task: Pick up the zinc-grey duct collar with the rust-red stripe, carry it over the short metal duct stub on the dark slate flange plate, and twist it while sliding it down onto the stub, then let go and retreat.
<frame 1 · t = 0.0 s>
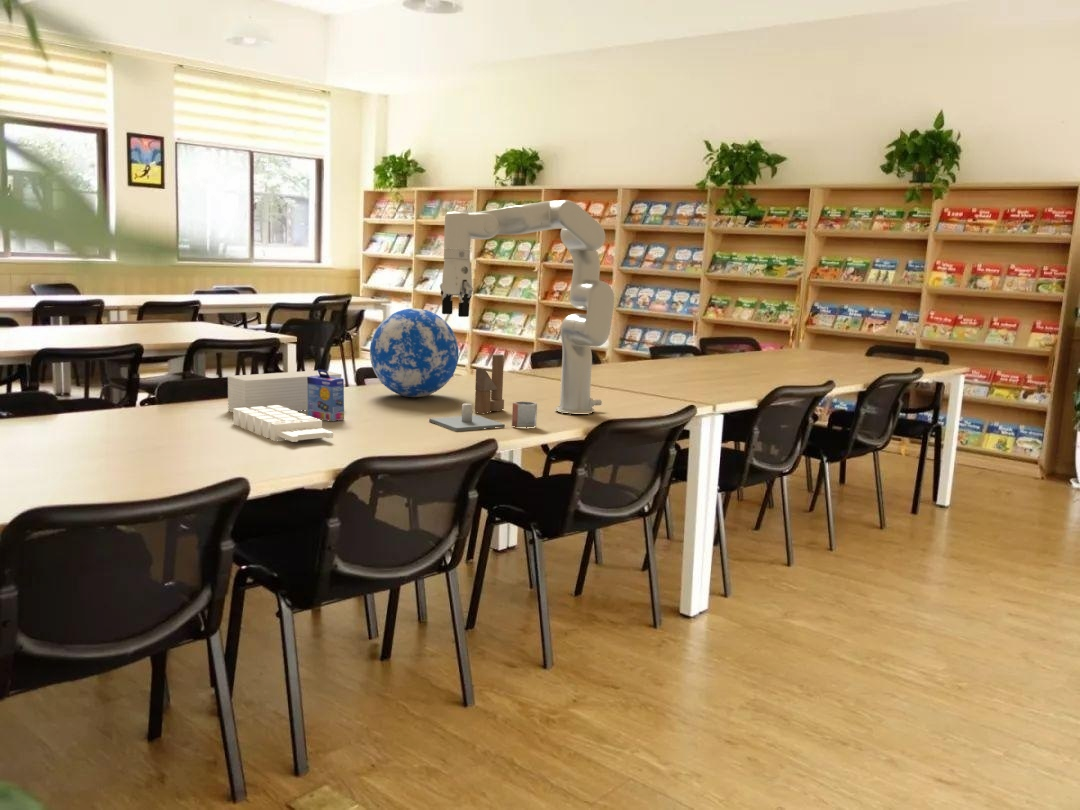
hand: (455, 315, 275), 31 cm above the table, tool pointing down, fingers open, 9 cm apart
stack of papers: (286, 410, 287), on the table
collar: (524, 426, 276), on the table
decorative globe: (413, 397, 322), on the table
wooden block: (489, 412, 299), on the table
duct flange: (466, 424, 275), on the table
organizer: (283, 435, 252), on the table
ink cartridge box: (325, 419, 275), on the table
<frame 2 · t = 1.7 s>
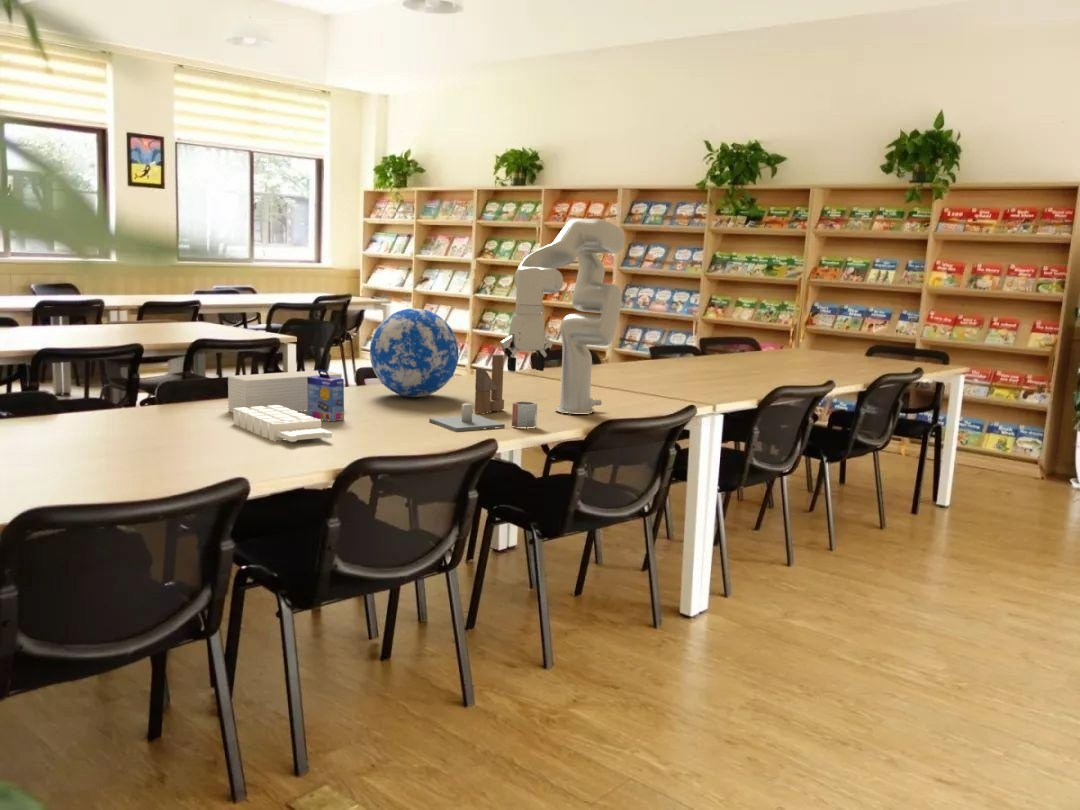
hand: (525, 370, 273), 17 cm above the table, tool pointing down, fingers open, 9 cm apart
nothing on the table moved.
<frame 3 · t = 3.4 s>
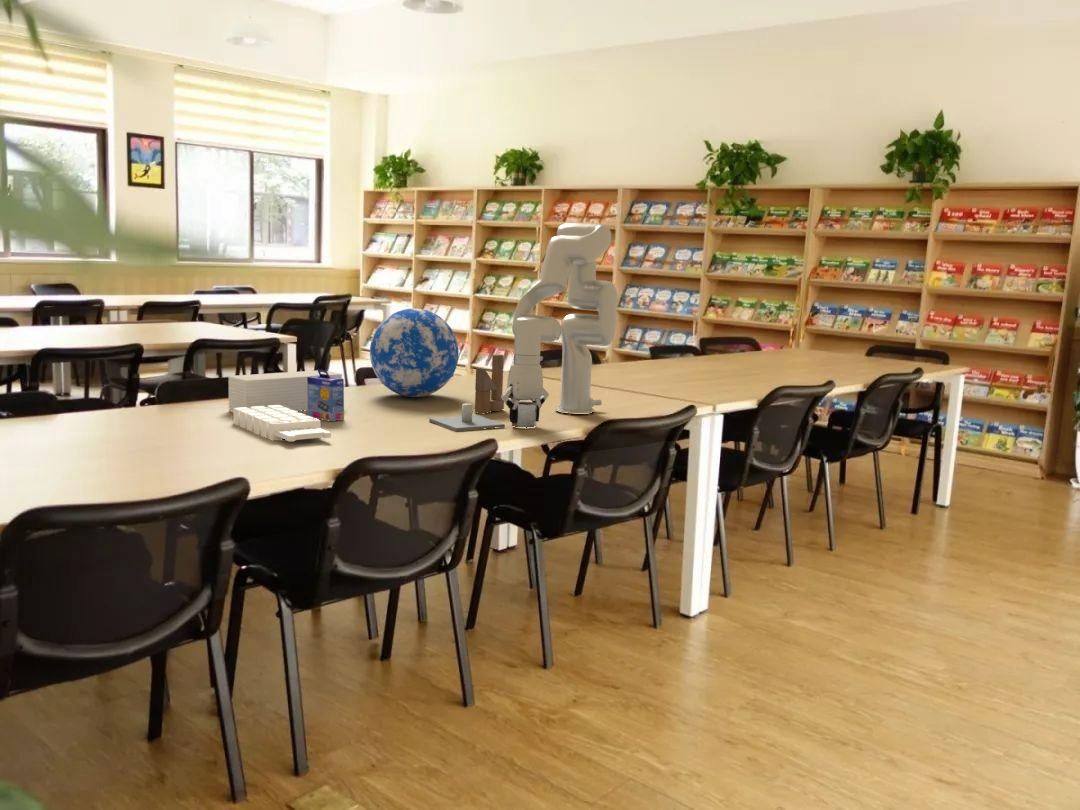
hand: (524, 421, 275), 2 cm above the table, tool pointing down, fingers closed on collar, 6 cm apart
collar: (523, 426, 276), on the table, touching gripper
everything else where it was.
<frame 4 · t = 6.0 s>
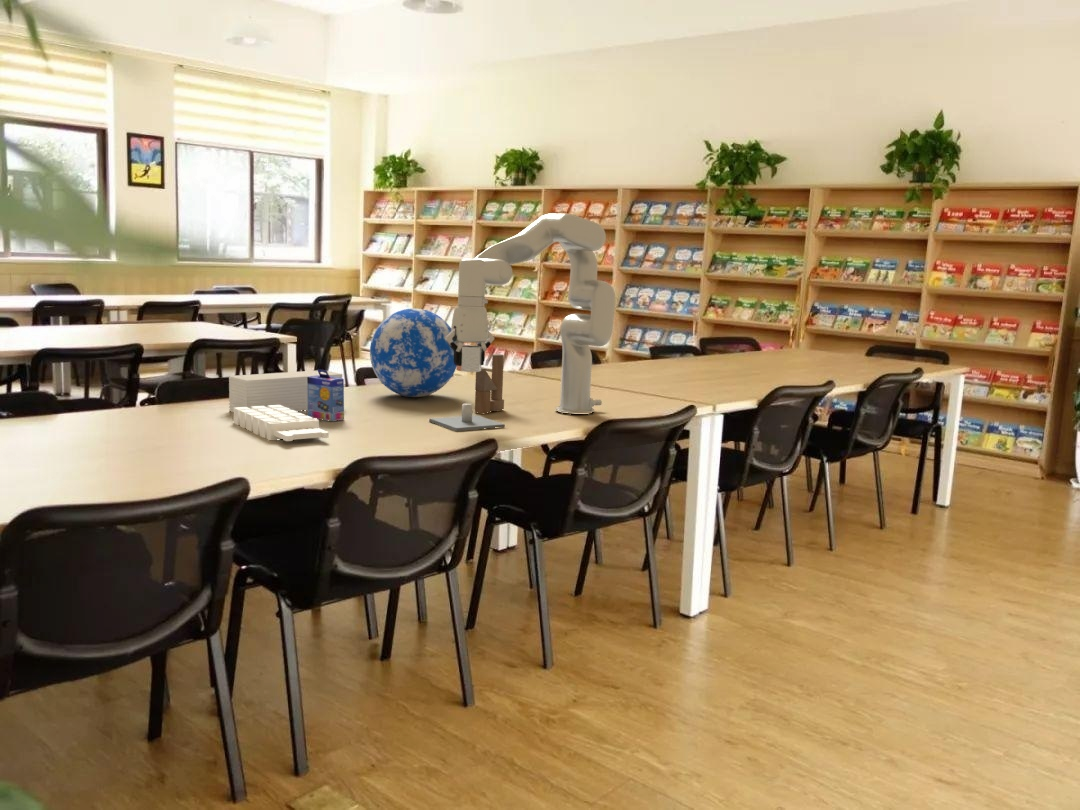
hand: (468, 364, 272), 18 cm above the table, tool pointing down, fingers closed on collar, 6 cm apart
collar: (468, 370, 272), point 16 cm above the table, touching gripper
everything else where it was.
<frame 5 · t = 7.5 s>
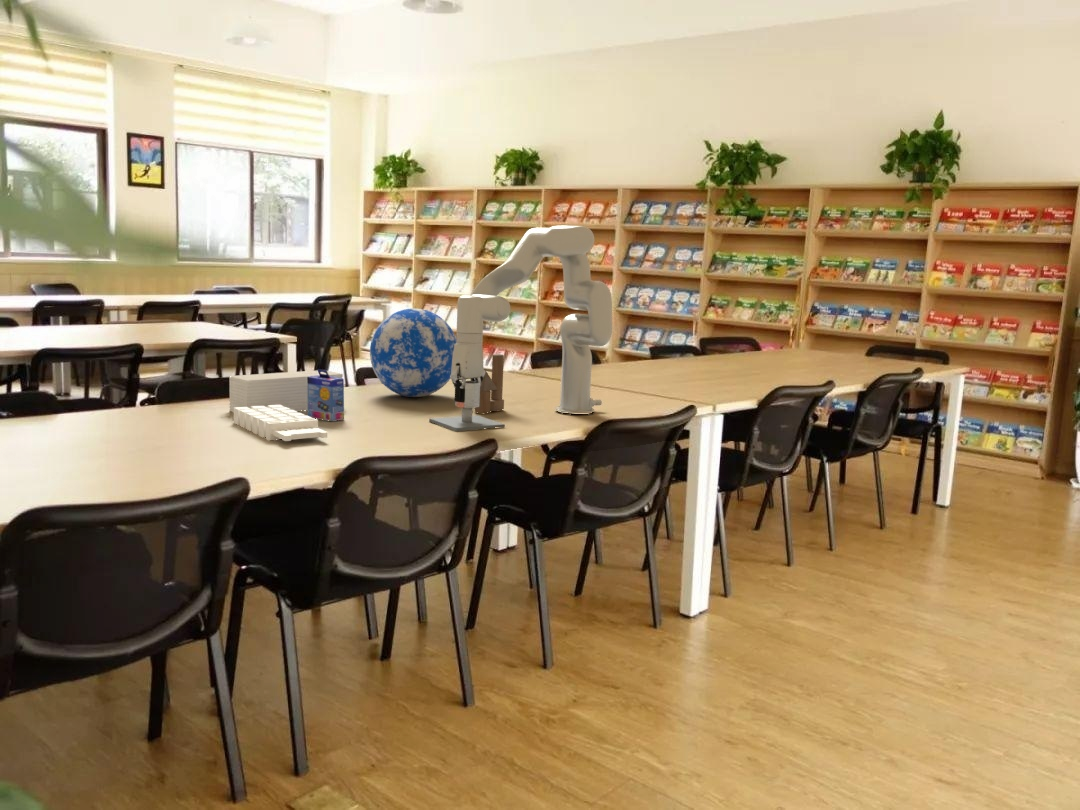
hand: (467, 400, 274), 7 cm above the table, tool pointing down, fingers closed on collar, 6 cm apart
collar: (467, 405, 274), point 6 cm above the table, touching gripper
when the fingers open (4 cm above the table, at t = 8.7 s): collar stays where it is, resting on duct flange.
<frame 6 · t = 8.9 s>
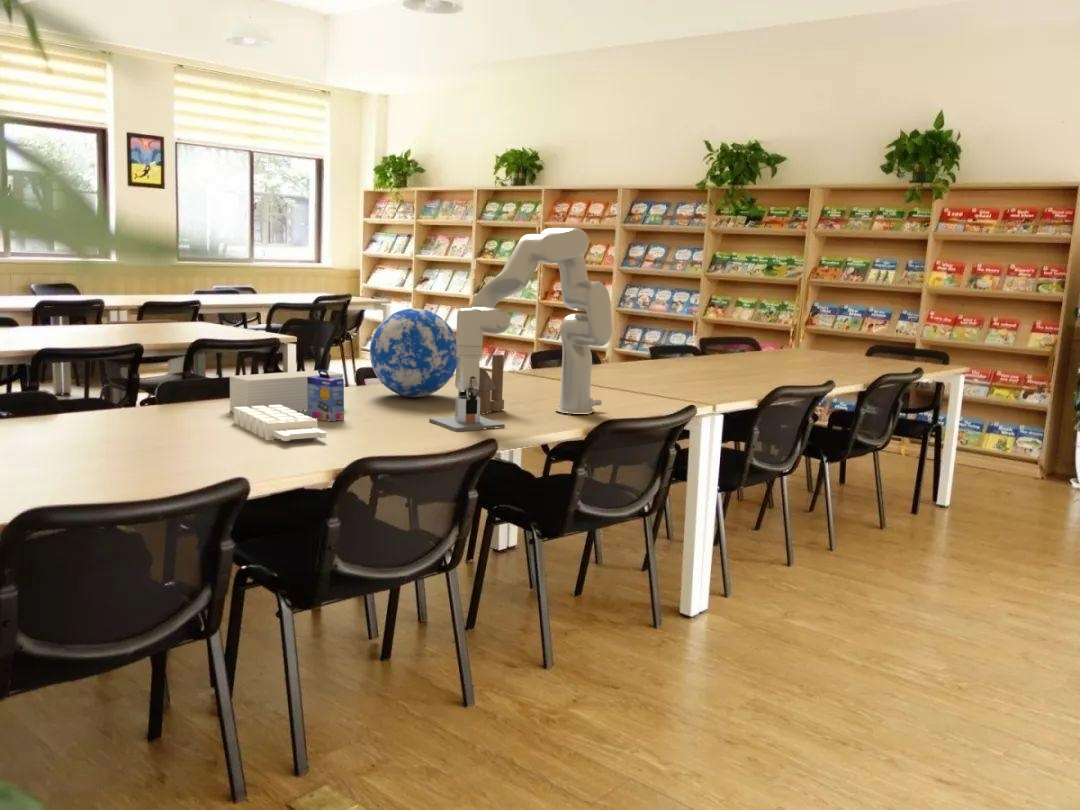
hand: (467, 410, 274), 4 cm above the table, tool pointing down, fingers open, 8 cm apart
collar: (467, 421, 275), point 1 cm above the table, touching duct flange
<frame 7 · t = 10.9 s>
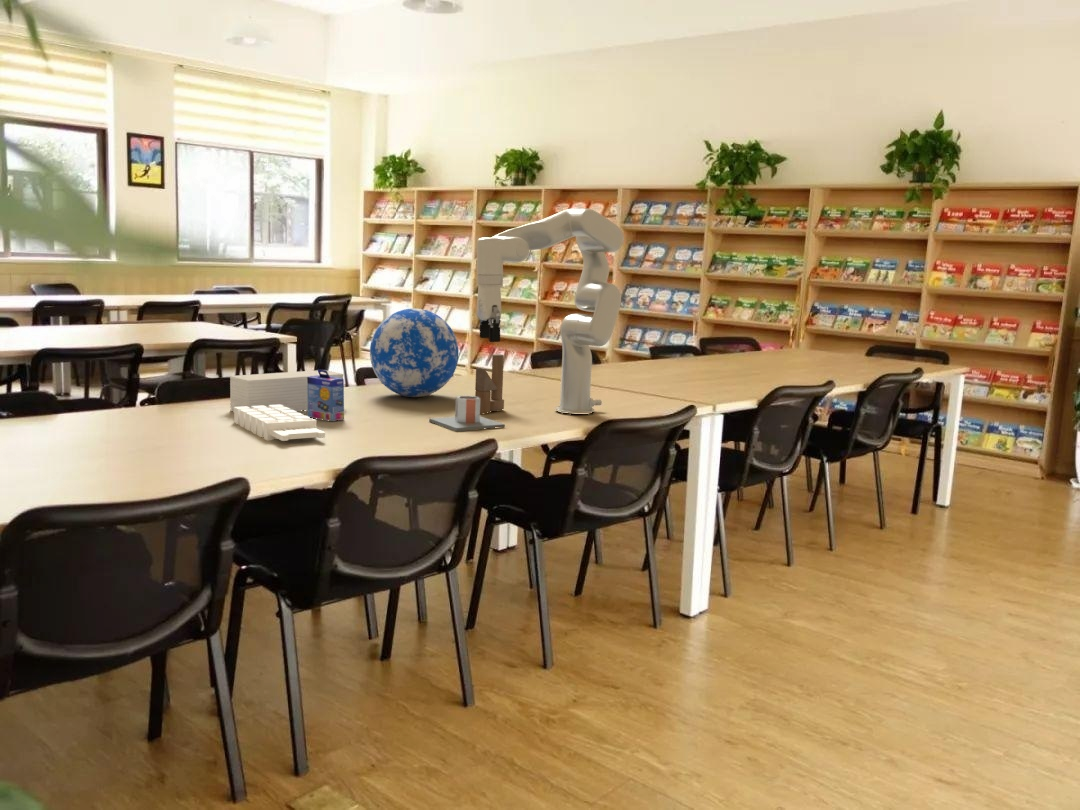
hand: (489, 339, 277), 25 cm above the table, tool pointing down, fingers open, 9 cm apart
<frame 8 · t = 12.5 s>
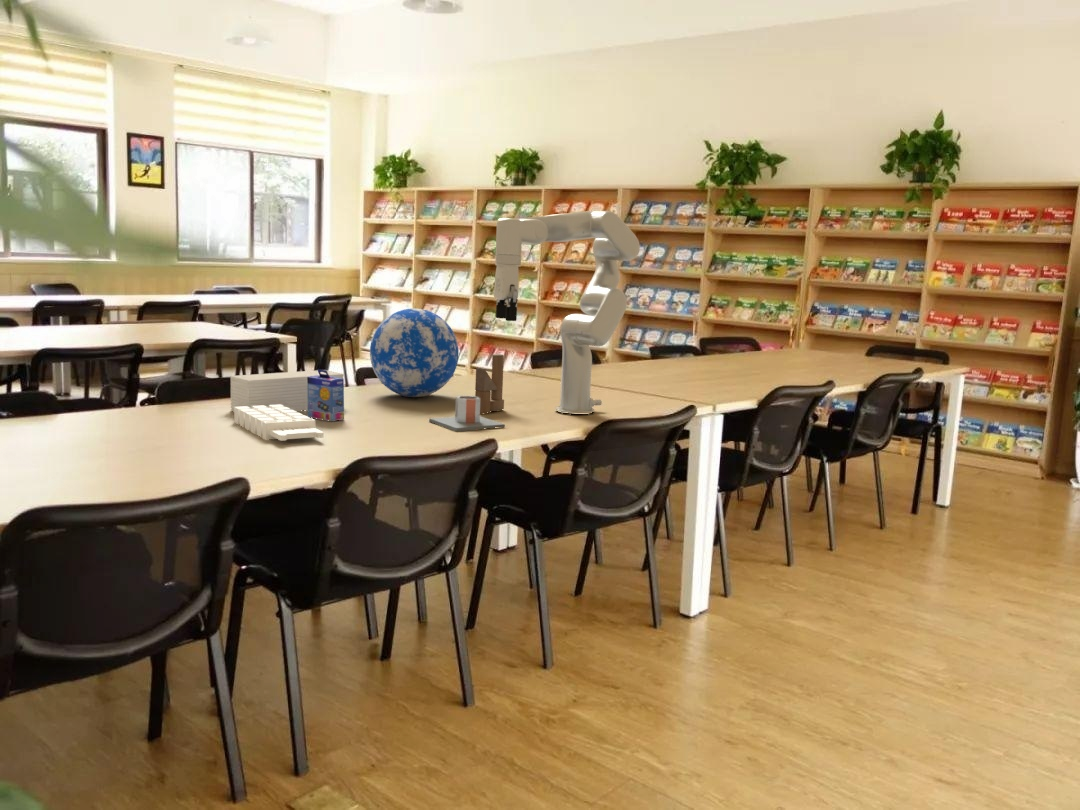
hand: (506, 319, 280), 30 cm above the table, tool pointing down, fingers open, 9 cm apart
at the end: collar 0.2 cm off-centre on the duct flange, point 1.0 cm above the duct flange's base; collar tilted 0°; the gripper is holding nothing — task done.
